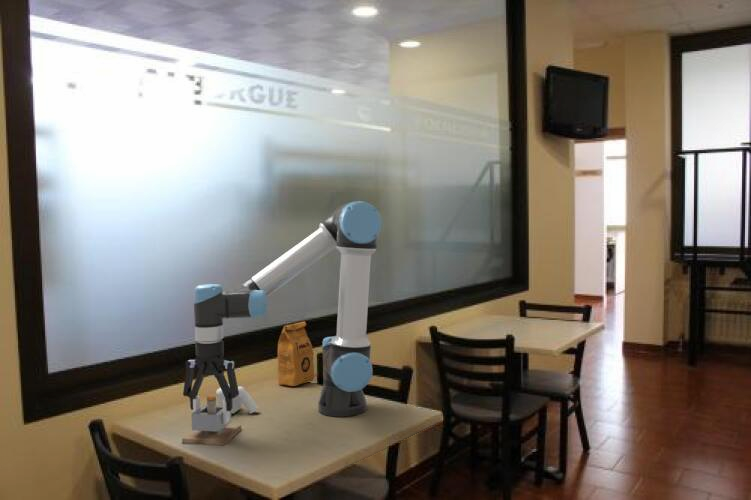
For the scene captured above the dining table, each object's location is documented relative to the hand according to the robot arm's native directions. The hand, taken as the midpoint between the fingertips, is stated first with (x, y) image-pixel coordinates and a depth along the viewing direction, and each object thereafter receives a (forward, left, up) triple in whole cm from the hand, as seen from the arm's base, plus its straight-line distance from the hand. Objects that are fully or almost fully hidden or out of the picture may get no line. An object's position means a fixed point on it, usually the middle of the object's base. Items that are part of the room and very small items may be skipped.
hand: (211, 421), depth 172 cm
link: (0, 0, -1) cm, 1 cm away
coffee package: (-8, -54, -4) cm, 55 cm away
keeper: (0, 0, -4) cm, 4 cm away
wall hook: (0, -20, -4) cm, 20 cm away
